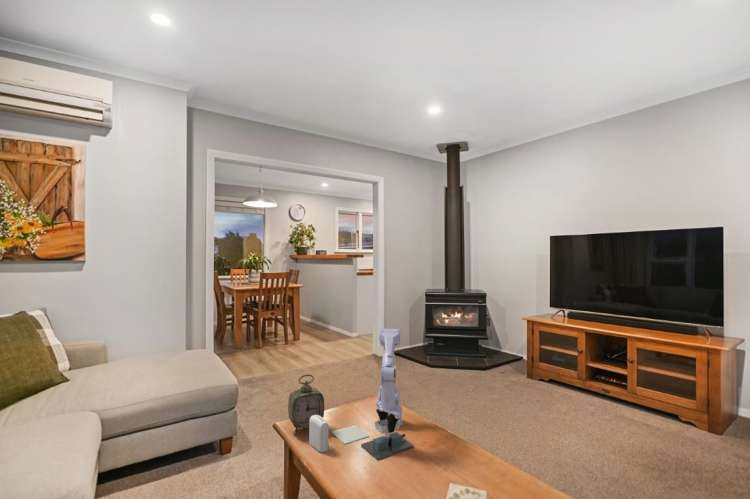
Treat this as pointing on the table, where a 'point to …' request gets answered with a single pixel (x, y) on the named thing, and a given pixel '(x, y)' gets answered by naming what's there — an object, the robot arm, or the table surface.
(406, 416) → the table surface
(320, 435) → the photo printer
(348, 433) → the sage mat
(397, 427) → the gray rectangular frame
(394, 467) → the table surface
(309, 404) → the tabletop clock
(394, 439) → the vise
